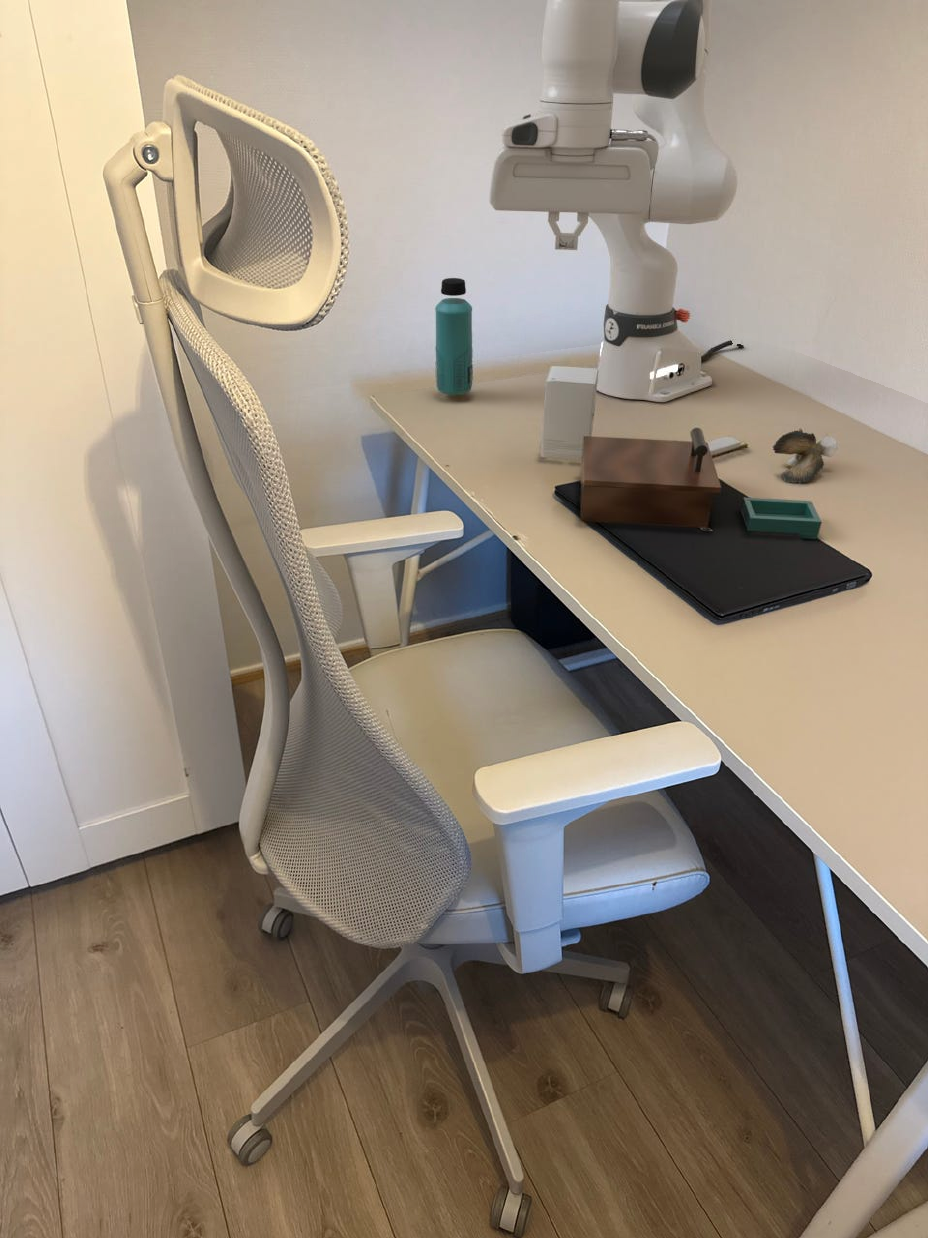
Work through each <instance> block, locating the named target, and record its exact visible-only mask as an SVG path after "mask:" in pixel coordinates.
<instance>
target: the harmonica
mask: <svg viewBox="0 0 928 1238" xmlns="http://www.w3.org/2000/svg"><path fill="white" fill-rule="evenodd" d="M706 442H707V443H708V446H709V449H710V452H711V455H712V459H713V458H714V459H715V457H720V456H721V455H723V456H724V455H725V454H729V453H730V452H732V453H734V451H739V450H743V449H749V447H748V446H749V444H748V443H746V442H745V441H742V440H740V439H737V438H735V437H732V436H724V437H720V438H716V439H713V440H711V441H706Z"/></svg>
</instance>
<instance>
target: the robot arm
mask: <svg viewBox="0 0 928 1238" xmlns="http://www.w3.org/2000/svg"><path fill="white" fill-rule="evenodd" d="M711 37H712V0H650V1H620V0H546V4H545V13H544V20H543V31H542V40H541V42H542V43H541V63H542V68H543V83H542V87H541V90H540V93H539V98H538V99H539V102H538V106H539V107H538V111H537V112H535V113H532V114H526V115H524V116H523V117H520V118H517V119H514V120H511V121H509V122H507V123H505V125H503V127H502V130H501V142H502V144H503V145H502V147H501V148H500V149H499V151H498V152H497V155H496V157H495V159H494V162H493V163H494V164H493V166H492V167H493V168H492V173H491V178H490V179H491V181H490V188H489V204H490V205H491V206H492V208H493V209H494V210H495V211H502V212H503V211H504V212H505V211H506V212H509V211H510V212H538V213H539V212H542V213H544V212H545V213H546V212H547V214H548V217H547V222H548V225H549V227H550V228H551V231H552V232H553V235H554V236H555V241H554V242H555V244H554V250H559V251H561V250H562V251H565V250H566V251H578V244H579V237H580V235H581V234H582V232H583V231H584V229H585V228H586V226H587V225H588V223H589V218H590V219H591V220H592V222H593V223H594V224H595V225H596V226H597V228H598V229H599V231H600V233H601V234H602V236H603V239H604V241H605V243H606V247H607V251H608V255H609V267H610V269H609V272H610V273H609V274H610V275H609V279H610V280H609V292H608V293H609V294H608V303H607V304H606V305H605V311H604V318H603V335H604V336H603V341H602V342H601V345H600V346H601V347H600V353H599V359H598V362H597V365H596V369H598V381H597V392H599V393H602V394H604V395H607V396H610V397H615V398H619V399H627V400H644V401H650V402H656V403H666V402H669V401H673V400H675V399H678V398H681V397H683V396H686V395H689V394H691V393H693V392H696V391H699V390H701V389H705V388H707V387H710V386H712V385H713V379H712V377H711V376H710V375H709V374H708V373H706V372H704V371H702V363H703V362H704V361H706V360H707V359H708V358H710V357H711V356H712V355H713V354H714V353H716V352H718V351H721V350H723V349H725V348H727V347H731V346H733V345H732V344H733V343H732V341H731V340H732V339H730V340H727V341H724V342H722V343H719V344H717V345H714V346H713V347H710V348H709V349H708V351H707V352H706V353H704V354H702V353H701V351H700V349H699V347H698V346H697V345H696V344H695V343H694V342H692V341H691V340H690V339H689V338H688V337H687V336H686V334H684V333H683V332H682V331H681V330H680V329H678V328H679V326H678V321H680V322H681V323H688V322H689V320H690V318H691V313H690V310H685V309H683V308H678V309H676V308H675V307H673V306H674V298H675V292H676V285H677V284H676V283H677V277H678V262H677V260H676V258H675V256H674V255H673V254H672V252H671V251H669V250H668V249H667V248H666V247H664V246H663V245H661V244H659V243H658V242H656V241H654V240H653V239H652V237H650V236H649V235H648V233H647V231H646V227H645V225H646V224H648V223H649V224H650V223H658V224H659V223H660V224H661V223H662V224H676V225H677V224H679V225H694V224H703V223H707V222H708V223H709V222H714V221H715V222H716V221H718V220H720V218H722V217H724V215H725V214H726V213H727V211H728V210H729V209H730V207H731V205H732V204H733V202H734V199H735V197H736V193H737V189H738V175H737V170H736V167H735V165H734V162H733V161H732V159H731V158H730V157H729V155H727V154H726V153H725V152H724V151H723V150H722V148H720V147H719V146H718V144H717V143H716V142H715V140H714V139H713V137H712V135H711V133H710V131H709V128H708V125H707V121H706V117H705V109H704V108H705V107H704V106H705V104H704V102H705V89H706V88H705V87H706V78H707V77H706V76H707V70H708V63H709V55H710V50H711V49H710V48H711ZM614 94H615V95H632V96H631V105H632V109H633V111H634V114H635V115H636V117H637V119H639V120H640V121H641V122H642V123H643V124H644V125H645V126H647V127H648V128H650V129H652V130H653V131H655V132H657V133H658V134H659V135H660V136H661V137H662V138H663V140H664V141H665V144H663V145H662V146H660V145H659V142H658V139H657V138H656V137H655V136H654V135H652V134H649V132H648V130H645V129H637V130H628V129H617V128H616V129H615V128H614V129H612V119H613V106H614ZM648 139H649V140H648ZM560 213H575V214H576V215H577V216H576V220H577V223H578V224H577V226H576V228H575V229H574V230H573V232H561V229H560V228H559V225H558V223H557V222H559V220H560ZM735 346H736V347H738V349H744V348H745V346H744V344H743V345H741V344H737V345H735Z"/></svg>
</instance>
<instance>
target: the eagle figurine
mask: <svg viewBox="0 0 928 1238" xmlns="http://www.w3.org/2000/svg"><path fill="white" fill-rule="evenodd" d="M772 450H773V452H774V454H778V455H779V454H781V455H789V456H790V455H794V456H793V457H791V458H790V459H789V460H788V461H787V464H786V465H785V467H789V468H788V469H787V470H785V471H784V472H782V473H781V474H780V476H781V479H782V480H783V481H784V482H787V483H792V484H793V483H794V484H795V483H799V484H801V483H806V482H809V481H811V480H812V479H814V478H815V476H816V475H817V474H818V472H820V471H821V470H822V469H823V468H824V465H825V462H824V459H823V458H822V457H823V456H824V457H828V458H831V457H833V456H834V455H835V453H836V451H837V450H838V442H837V439H835V438H834V437H833V436H830V435H825V436H824V437H822V439H821V440H820V441H818V442H817V438H816V436H815V433H811V432H810V433H808V432H804V431H803V429H802V428H799V429H798V430H797V429H796V430H793V431H789V432H788V433H785V434H783V435H781V437H779V438H778V439H777V441H775V443H774V444H773V446H772ZM790 466H791V467H790Z"/></svg>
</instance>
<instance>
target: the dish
mask: <svg viewBox="0 0 928 1238" xmlns="http://www.w3.org/2000/svg"><path fill="white" fill-rule="evenodd" d="M740 511H741V514H742V517H743V520H744V523H745V526H746V529H747V531H751V532H753V531H754V532H770V533H784V534H785V533H786V534H799V536H800V539H806V540H807V539H808V540H818V537H819V533H820V530H821V526H822V520H821V517H820V516H819V514H818V511H817V509H816V507H815V505H814V503H813V501H812V500H798V499H780V498H779V499H778V498H764V497H763V498H760V497H743V498H742V504H741V507H740Z"/></svg>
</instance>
